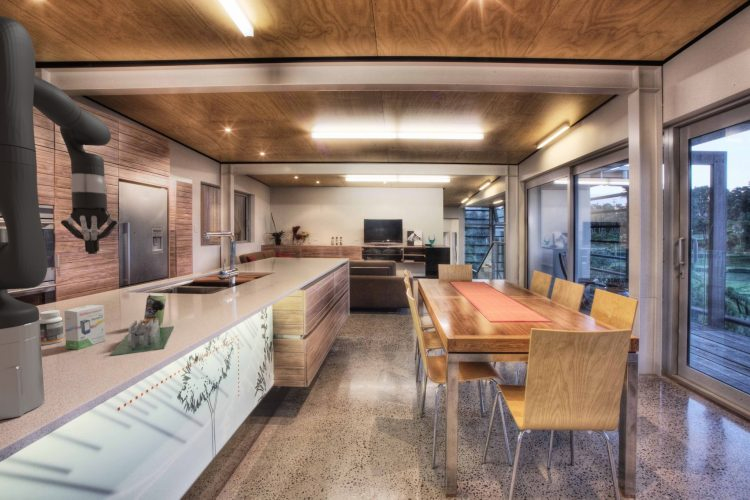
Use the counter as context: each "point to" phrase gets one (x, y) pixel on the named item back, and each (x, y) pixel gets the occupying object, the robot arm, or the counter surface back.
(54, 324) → the pill bottle
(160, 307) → the beverage can
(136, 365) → the counter surface
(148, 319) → the grey and orange bar
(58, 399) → the counter surface
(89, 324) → the ink box
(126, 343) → the heatsink board
